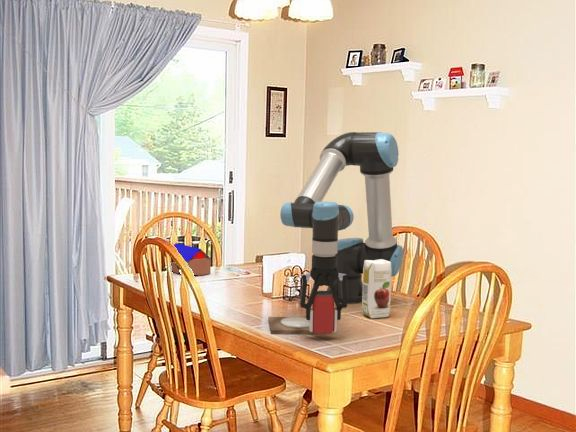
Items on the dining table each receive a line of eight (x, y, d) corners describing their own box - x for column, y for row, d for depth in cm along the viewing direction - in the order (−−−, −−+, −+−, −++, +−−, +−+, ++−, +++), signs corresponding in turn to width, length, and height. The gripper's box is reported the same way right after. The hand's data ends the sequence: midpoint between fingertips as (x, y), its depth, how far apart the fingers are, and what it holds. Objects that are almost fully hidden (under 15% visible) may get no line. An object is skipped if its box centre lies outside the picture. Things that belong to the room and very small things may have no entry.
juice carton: (359, 313, 236) (361, 259, 234) (380, 312, 239) (382, 258, 237) (370, 319, 229) (372, 263, 227) (392, 317, 232) (394, 262, 230)
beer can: (310, 328, 208) (311, 290, 206) (332, 328, 208) (333, 290, 207) (313, 335, 201) (314, 295, 200) (335, 335, 202) (336, 295, 200)
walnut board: (323, 320, 226) (323, 317, 225) (329, 334, 210) (329, 330, 210) (268, 320, 224) (268, 316, 224) (270, 334, 208) (271, 330, 208)
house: (188, 276, 294) (188, 250, 292) (164, 269, 309) (164, 243, 308) (211, 273, 302) (211, 247, 300) (186, 266, 317) (187, 241, 315)
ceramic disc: (313, 319, 223) (313, 317, 223) (317, 328, 212) (317, 326, 212) (279, 318, 222) (279, 317, 222) (281, 328, 211) (282, 326, 211)
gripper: (355, 252, 206) (353, 326, 209) (290, 252, 205) (289, 327, 208) (359, 256, 199) (357, 333, 202) (292, 256, 197) (291, 334, 200)
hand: (322, 330), depth 205 cm, fingers closed on beer can, 6 cm apart
